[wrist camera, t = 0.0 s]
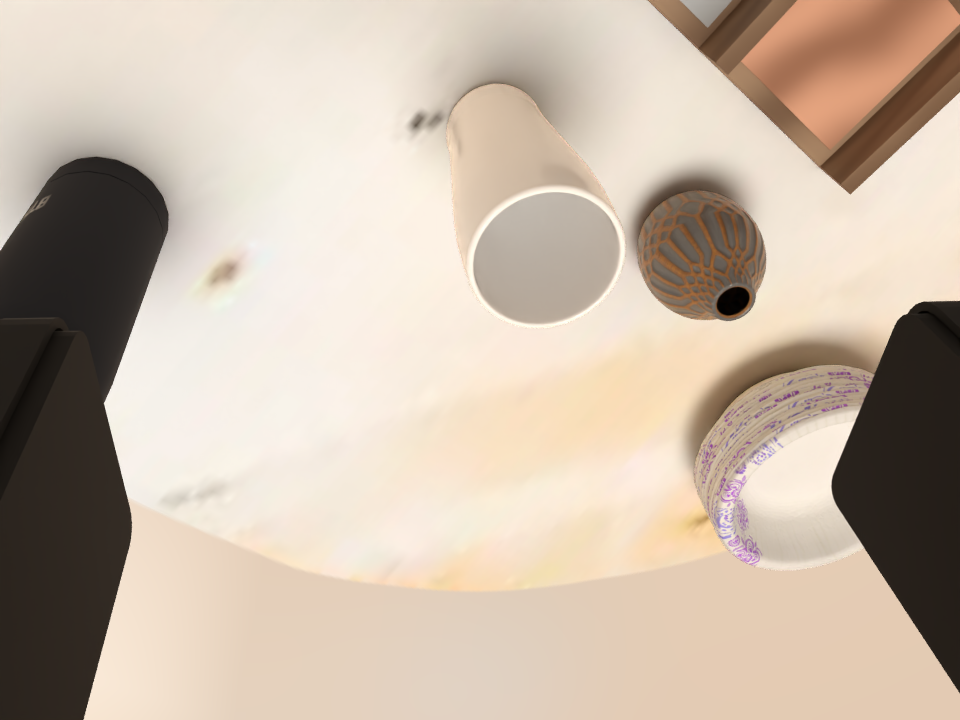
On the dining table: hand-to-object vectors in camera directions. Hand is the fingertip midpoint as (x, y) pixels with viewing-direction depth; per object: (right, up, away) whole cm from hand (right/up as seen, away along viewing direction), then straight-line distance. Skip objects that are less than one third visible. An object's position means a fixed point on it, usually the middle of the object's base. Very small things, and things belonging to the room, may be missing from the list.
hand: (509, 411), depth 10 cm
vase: (+12, +9, +42) cm, 44 cm away
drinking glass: (0, +13, +36) cm, 39 cm away
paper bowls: (+22, -4, +53) cm, 57 cm away
